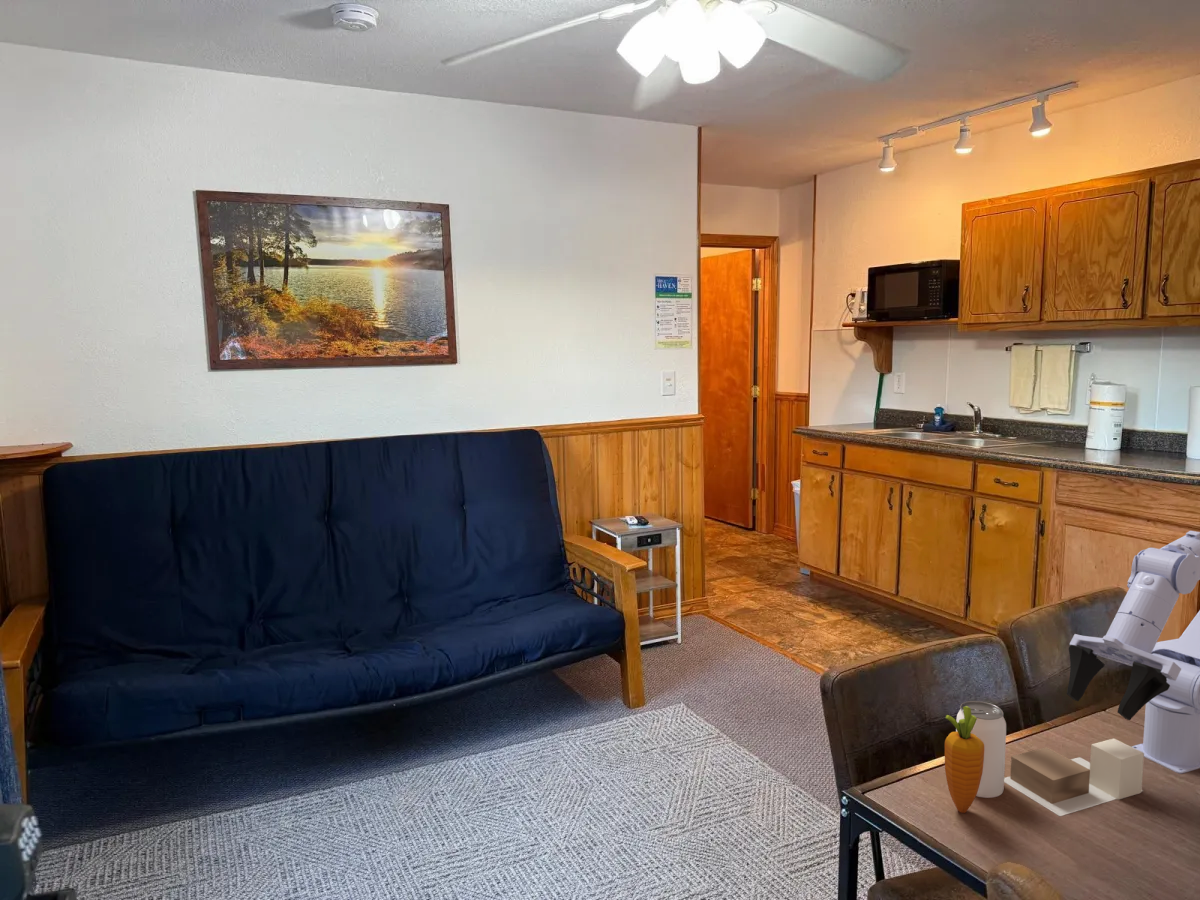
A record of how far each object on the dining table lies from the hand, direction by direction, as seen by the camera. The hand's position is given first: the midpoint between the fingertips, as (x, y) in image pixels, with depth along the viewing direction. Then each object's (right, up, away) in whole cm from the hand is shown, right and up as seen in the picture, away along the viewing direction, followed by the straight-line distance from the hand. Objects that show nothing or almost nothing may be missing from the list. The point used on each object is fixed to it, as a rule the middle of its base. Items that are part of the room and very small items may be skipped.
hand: (1097, 706), depth 112 cm
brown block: (-5, -12, +3) cm, 14 cm away
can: (-15, -13, +4) cm, 20 cm away
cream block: (+4, -12, +2) cm, 13 cm away
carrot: (-20, -14, -2) cm, 25 cm away
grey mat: (-2, -13, +3) cm, 13 cm away
